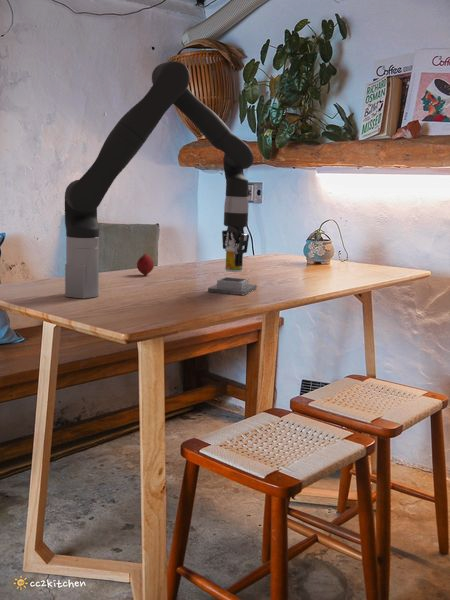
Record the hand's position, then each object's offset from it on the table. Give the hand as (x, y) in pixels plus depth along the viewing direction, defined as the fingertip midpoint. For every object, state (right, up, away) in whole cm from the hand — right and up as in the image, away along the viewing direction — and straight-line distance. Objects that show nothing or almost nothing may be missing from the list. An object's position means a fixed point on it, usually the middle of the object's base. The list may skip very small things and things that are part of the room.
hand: (233, 264), depth 217 cm
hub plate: (0, -8, +2) cm, 8 cm away
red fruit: (-31, -3, +23) cm, 39 cm away
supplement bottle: (0, -2, 0) cm, 2 cm away
